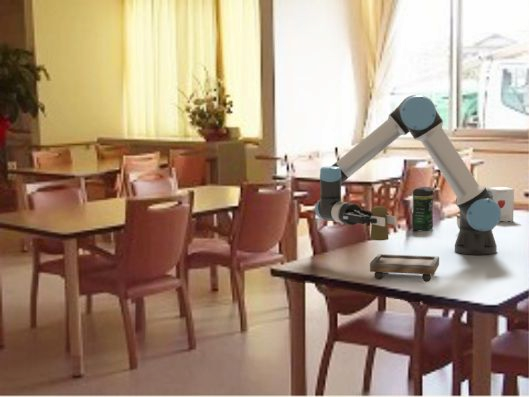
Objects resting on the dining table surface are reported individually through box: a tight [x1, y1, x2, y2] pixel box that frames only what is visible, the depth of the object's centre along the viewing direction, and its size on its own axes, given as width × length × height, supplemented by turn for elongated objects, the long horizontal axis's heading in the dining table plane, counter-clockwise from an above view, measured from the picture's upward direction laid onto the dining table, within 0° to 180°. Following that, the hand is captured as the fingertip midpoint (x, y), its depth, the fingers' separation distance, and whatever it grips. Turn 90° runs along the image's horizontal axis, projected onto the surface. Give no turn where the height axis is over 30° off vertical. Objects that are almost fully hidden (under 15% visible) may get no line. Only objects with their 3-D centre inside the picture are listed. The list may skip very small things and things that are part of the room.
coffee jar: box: [411, 186, 434, 231], centre depth 354 cm, size 10×8×19 cm
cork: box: [369, 205, 389, 241], centre depth 272 cm, size 6×6×11 cm
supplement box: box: [486, 186, 515, 222], centre depth 374 cm, size 9×9×15 cm
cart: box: [369, 253, 440, 283], centre depth 265 cm, size 20×15×6 cm
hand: (389, 221), depth 267 cm, fingers closed on cork, 4 cm apart
